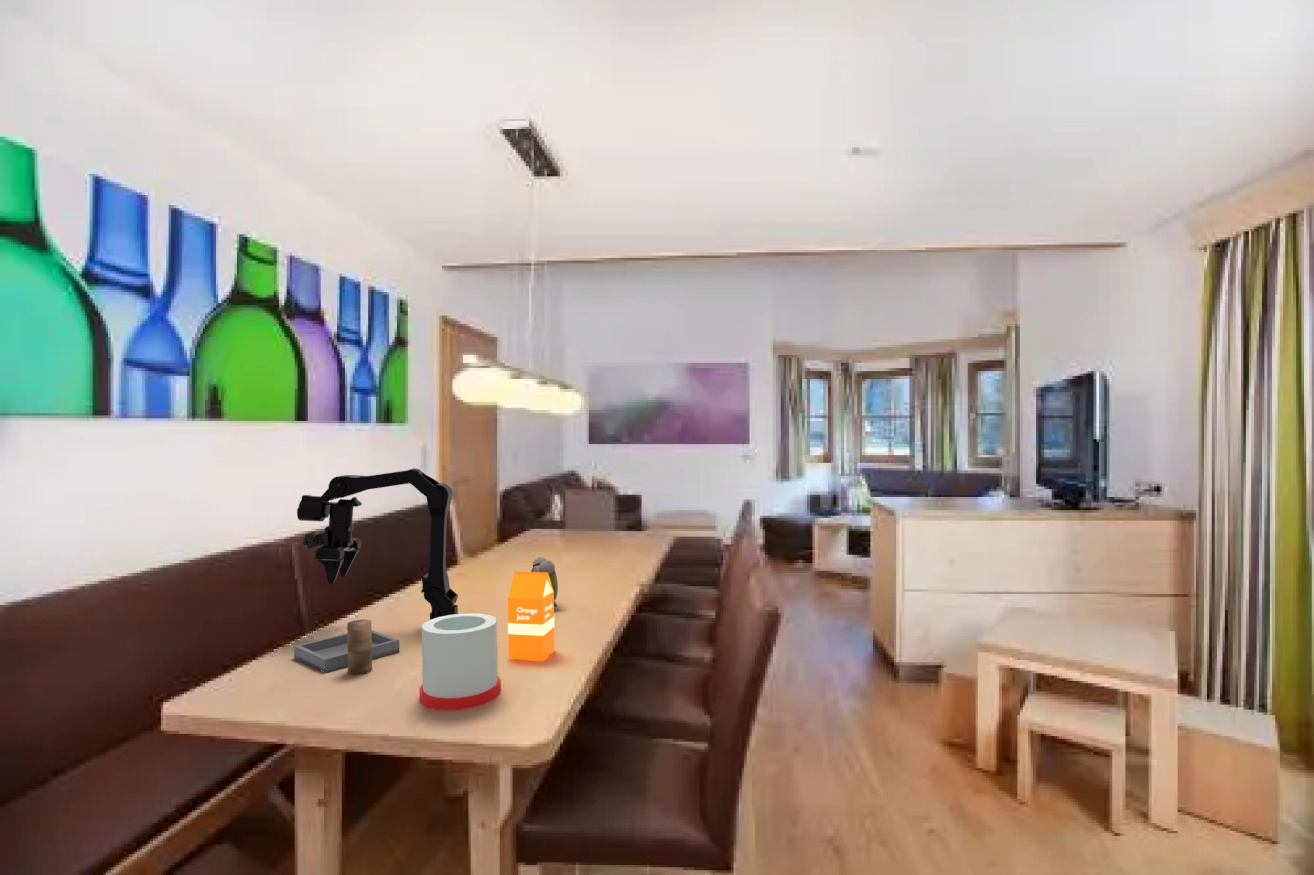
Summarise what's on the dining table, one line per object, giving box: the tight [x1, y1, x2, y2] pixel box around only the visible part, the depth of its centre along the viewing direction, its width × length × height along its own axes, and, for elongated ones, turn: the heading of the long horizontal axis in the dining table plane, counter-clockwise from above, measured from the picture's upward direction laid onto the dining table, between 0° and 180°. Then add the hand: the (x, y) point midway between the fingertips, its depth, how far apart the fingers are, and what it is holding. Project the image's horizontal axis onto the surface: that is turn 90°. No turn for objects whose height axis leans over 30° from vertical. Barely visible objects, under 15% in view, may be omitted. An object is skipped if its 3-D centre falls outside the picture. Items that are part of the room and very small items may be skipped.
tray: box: [293, 629, 400, 673], centre depth 164 cm, size 18×16×3 cm
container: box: [419, 612, 502, 711], centre depth 138 cm, size 16×16×15 cm
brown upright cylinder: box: [346, 619, 373, 676], centre depth 153 cm, size 5×5×11 cm
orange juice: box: [507, 571, 555, 662], centre depth 162 cm, size 8×9×20 cm
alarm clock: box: [530, 556, 559, 607], centre depth 206 cm, size 12×7×15 cm, turn 28°
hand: (337, 580), depth 181 cm, fingers open, 9 cm apart
